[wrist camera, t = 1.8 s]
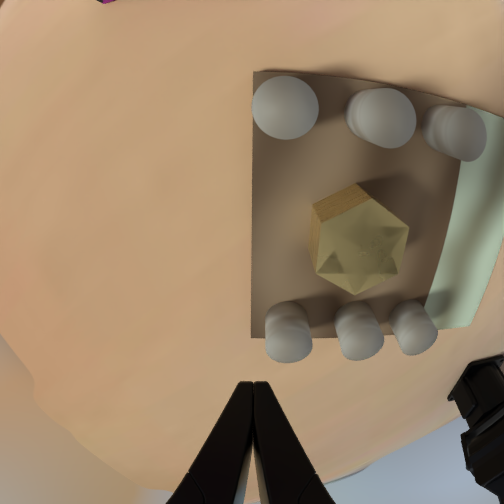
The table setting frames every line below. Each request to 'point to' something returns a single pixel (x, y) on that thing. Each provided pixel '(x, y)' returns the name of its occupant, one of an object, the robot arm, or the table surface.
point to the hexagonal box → (355, 239)
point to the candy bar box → (105, 1)
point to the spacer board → (385, 190)
